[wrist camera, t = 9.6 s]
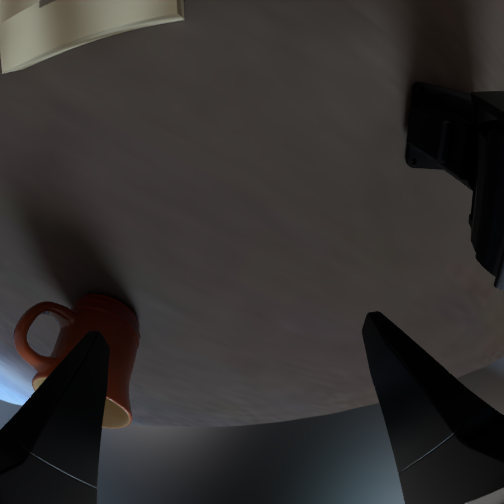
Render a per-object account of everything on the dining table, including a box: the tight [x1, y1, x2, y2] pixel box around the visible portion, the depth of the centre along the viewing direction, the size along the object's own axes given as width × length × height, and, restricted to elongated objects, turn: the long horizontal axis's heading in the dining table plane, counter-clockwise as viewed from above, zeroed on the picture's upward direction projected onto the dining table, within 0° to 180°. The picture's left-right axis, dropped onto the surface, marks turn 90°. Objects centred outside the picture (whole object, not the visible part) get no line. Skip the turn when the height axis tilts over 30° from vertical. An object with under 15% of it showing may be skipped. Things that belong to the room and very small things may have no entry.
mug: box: [13, 294, 140, 428], centre depth 22 cm, size 12×9×10 cm
